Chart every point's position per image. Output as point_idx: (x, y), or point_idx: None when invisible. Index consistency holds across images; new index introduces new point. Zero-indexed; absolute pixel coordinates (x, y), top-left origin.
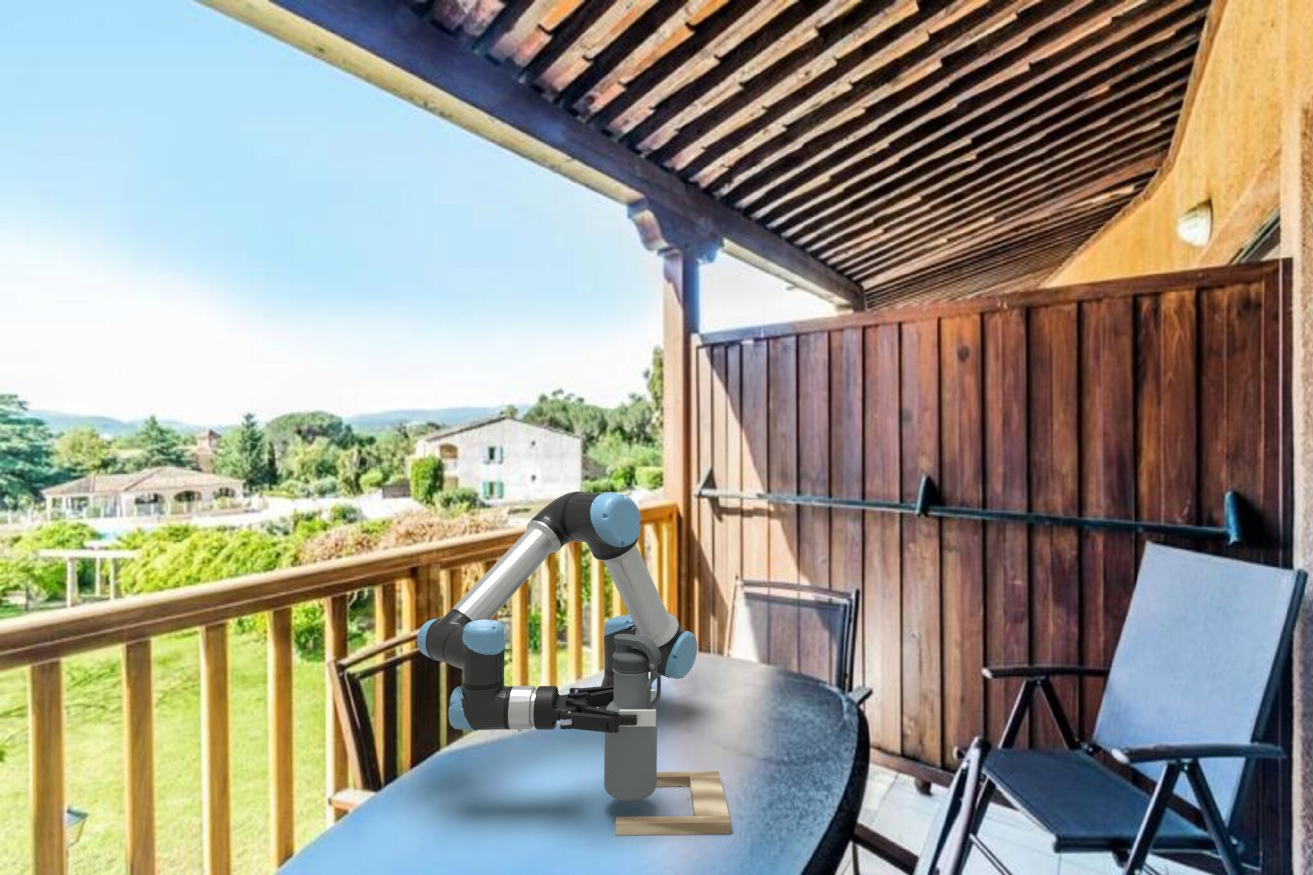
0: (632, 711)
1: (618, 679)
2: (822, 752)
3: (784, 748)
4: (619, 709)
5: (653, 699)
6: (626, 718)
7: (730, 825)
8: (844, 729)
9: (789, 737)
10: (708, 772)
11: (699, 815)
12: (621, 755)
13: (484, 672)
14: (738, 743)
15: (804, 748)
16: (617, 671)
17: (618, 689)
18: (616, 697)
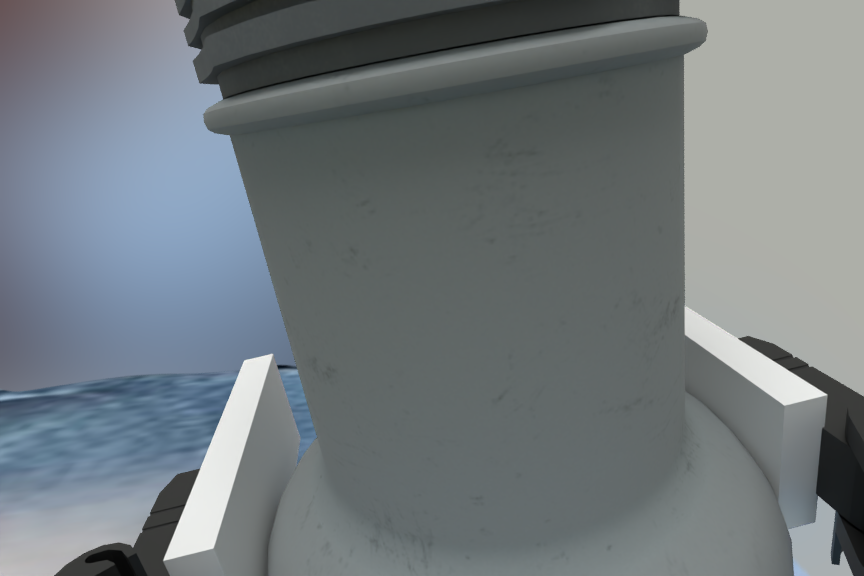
0: (732, 338)
1: (673, 138)
2: (204, 404)
3: (157, 458)
4: (702, 461)
5: (289, 416)
6: (823, 382)
7: None
8: (120, 388)
9: (104, 456)
10: None
11: None
12: None
13: None
14: (71, 557)
15: (174, 428)
16: (659, 17)
17: (678, 274)
18: (664, 399)
